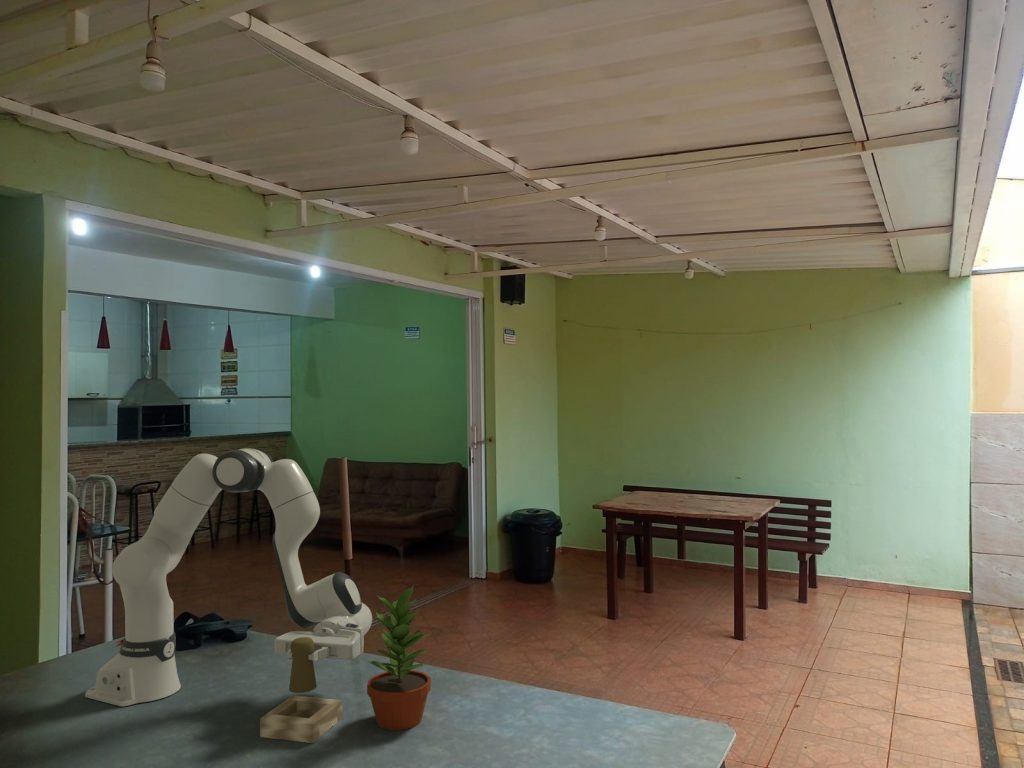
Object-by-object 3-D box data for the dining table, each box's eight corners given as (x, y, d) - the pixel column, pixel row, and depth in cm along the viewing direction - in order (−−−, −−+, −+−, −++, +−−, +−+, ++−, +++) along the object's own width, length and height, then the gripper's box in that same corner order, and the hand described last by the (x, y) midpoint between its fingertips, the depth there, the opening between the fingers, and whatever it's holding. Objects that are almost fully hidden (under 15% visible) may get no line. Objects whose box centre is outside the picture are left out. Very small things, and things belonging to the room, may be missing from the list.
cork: (309, 693, 163) (308, 643, 163) (284, 692, 164) (283, 642, 164) (321, 683, 169) (320, 634, 169) (296, 681, 170) (295, 633, 170)
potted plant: (352, 730, 164) (351, 594, 165) (388, 703, 178) (387, 578, 179) (411, 740, 158) (410, 600, 159) (443, 712, 173) (442, 583, 173)
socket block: (260, 736, 161) (260, 718, 161) (292, 712, 174) (292, 695, 174) (313, 743, 158) (313, 724, 158) (342, 717, 170) (342, 700, 170)
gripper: (292, 621, 181) (259, 639, 168) (368, 626, 176) (340, 645, 163) (293, 647, 181) (259, 667, 168) (369, 653, 176) (341, 674, 163)
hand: (300, 656), depth 165 cm, fingers closed on cork, 4 cm apart
